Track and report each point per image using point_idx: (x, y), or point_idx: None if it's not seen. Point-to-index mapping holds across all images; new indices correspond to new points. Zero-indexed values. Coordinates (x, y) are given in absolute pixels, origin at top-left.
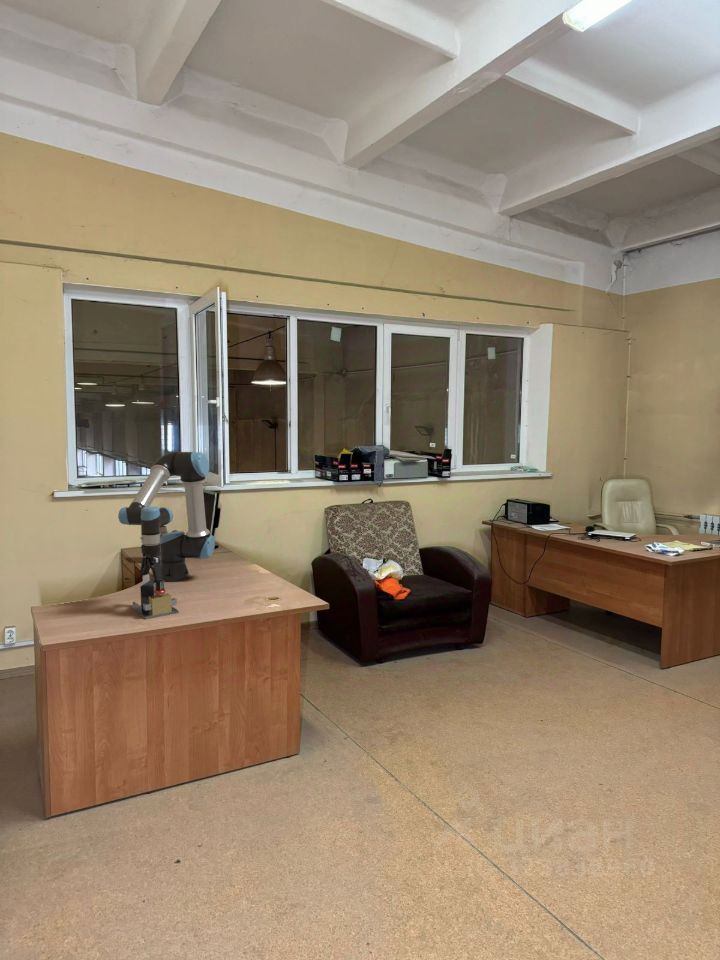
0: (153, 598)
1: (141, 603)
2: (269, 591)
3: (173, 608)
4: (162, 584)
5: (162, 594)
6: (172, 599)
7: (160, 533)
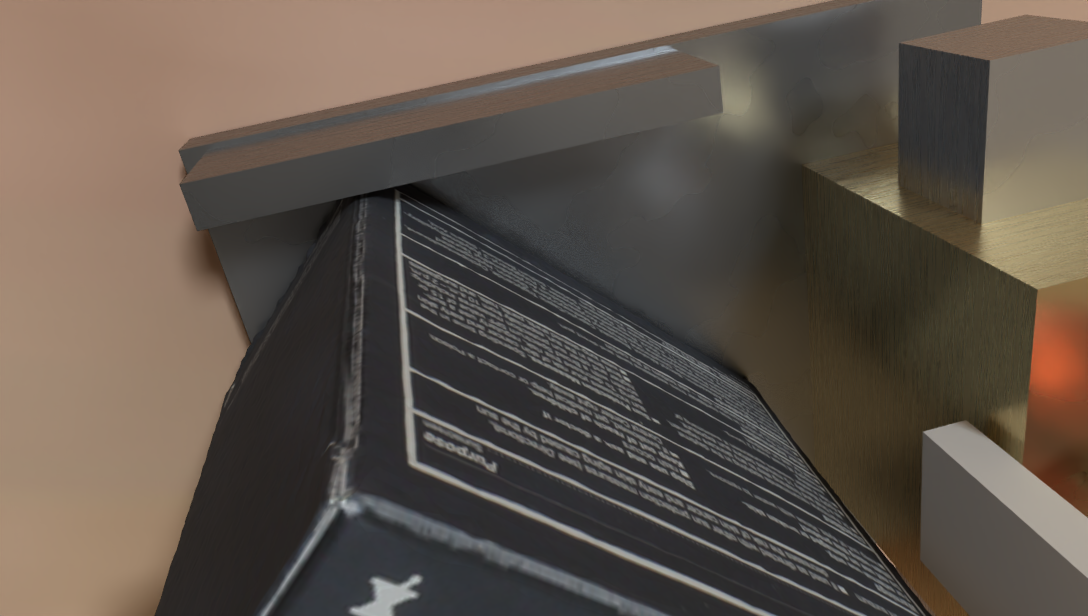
0: None
1: None
2: None
3: (790, 48)
4: (511, 473)
5: (1052, 425)
6: (1073, 135)
7: None
